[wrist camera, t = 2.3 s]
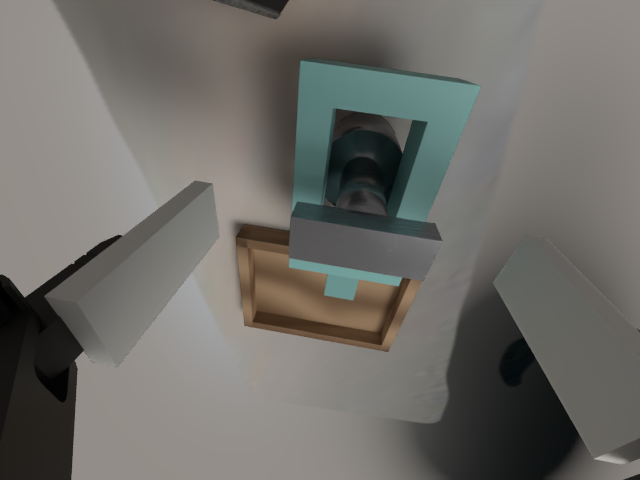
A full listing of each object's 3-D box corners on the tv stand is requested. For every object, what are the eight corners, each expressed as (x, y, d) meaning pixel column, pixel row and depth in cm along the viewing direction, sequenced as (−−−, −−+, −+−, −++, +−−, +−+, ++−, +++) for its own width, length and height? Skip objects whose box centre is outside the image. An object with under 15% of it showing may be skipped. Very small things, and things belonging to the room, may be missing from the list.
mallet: (329, 107, 18) (292, 175, 9) (408, 118, 18) (461, 201, 8) (321, 177, 22) (287, 285, 12) (388, 187, 21) (410, 307, 12)
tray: (244, 224, 25) (235, 237, 24) (423, 253, 25) (427, 269, 23) (250, 310, 33) (244, 325, 31) (386, 335, 32) (388, 351, 31)
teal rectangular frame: (311, 57, 13) (300, 60, 10) (458, 78, 13) (481, 86, 10) (296, 260, 21) (287, 289, 18) (386, 275, 20) (390, 306, 18)
